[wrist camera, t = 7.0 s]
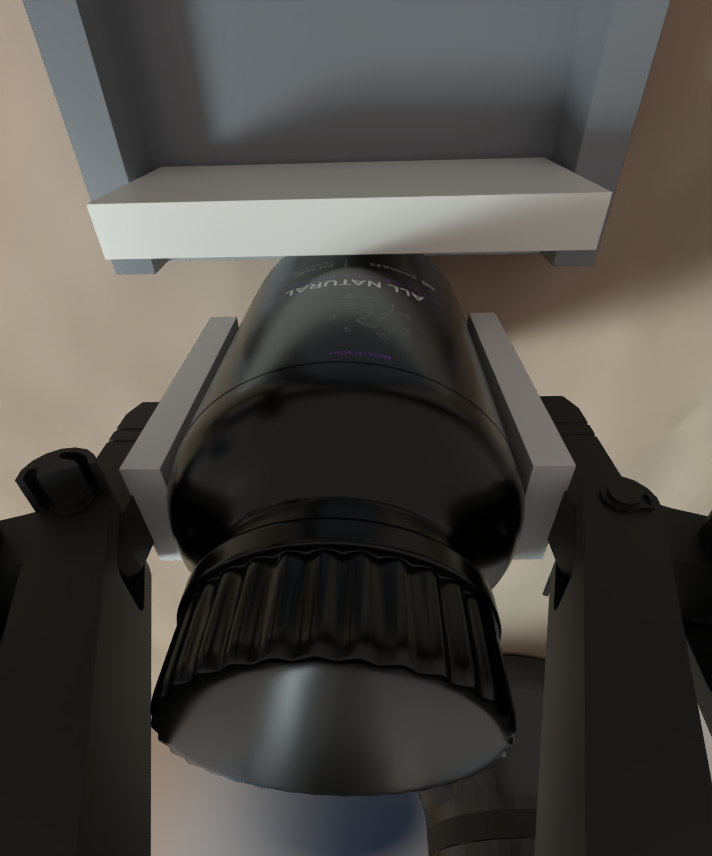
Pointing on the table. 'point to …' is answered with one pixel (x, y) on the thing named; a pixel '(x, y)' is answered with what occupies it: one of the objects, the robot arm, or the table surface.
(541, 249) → the plate
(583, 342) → the table surface
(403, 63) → the pusher lane
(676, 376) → the table surface
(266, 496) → the supplement bottle
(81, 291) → the table surface
